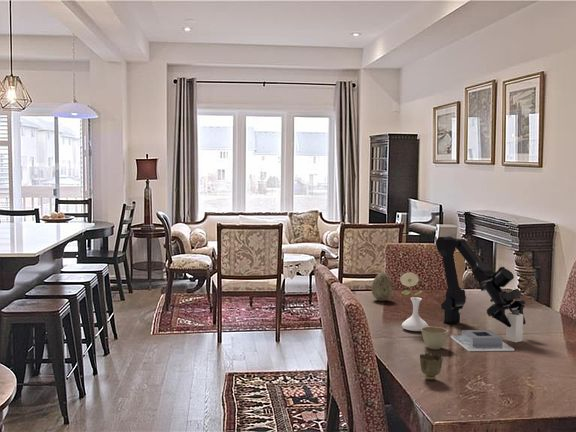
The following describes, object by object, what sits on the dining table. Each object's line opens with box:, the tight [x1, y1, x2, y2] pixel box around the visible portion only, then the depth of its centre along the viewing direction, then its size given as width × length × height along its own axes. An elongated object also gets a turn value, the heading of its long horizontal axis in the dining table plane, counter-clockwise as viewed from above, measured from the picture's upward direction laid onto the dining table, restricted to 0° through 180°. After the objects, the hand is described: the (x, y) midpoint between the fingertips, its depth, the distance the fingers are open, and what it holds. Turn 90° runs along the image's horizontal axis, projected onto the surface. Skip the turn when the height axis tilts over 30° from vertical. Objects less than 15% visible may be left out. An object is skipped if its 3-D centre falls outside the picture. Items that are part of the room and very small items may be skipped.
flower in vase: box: [399, 271, 430, 332], centre depth 272 cm, size 13×11×25 cm
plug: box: [505, 310, 524, 343], centre depth 258 cm, size 4×4×12 cm
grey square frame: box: [450, 329, 515, 352], centre depth 253 cm, size 20×18×4 cm
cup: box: [419, 352, 444, 382], centre depth 209 cm, size 8×7×8 cm
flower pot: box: [420, 326, 449, 350], centre depth 246 cm, size 10×10×7 cm
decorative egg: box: [371, 271, 393, 302], centre depth 329 cm, size 11×11×15 cm
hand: (517, 325), depth 257 cm, fingers open, 9 cm apart
